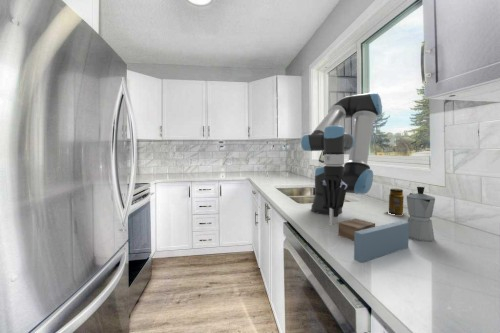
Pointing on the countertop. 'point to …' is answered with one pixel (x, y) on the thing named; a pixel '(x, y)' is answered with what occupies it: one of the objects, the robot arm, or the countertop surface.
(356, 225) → the walnut block
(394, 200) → the condiment
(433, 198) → the coffee maker
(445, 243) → the countertop surface
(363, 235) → the slate board
